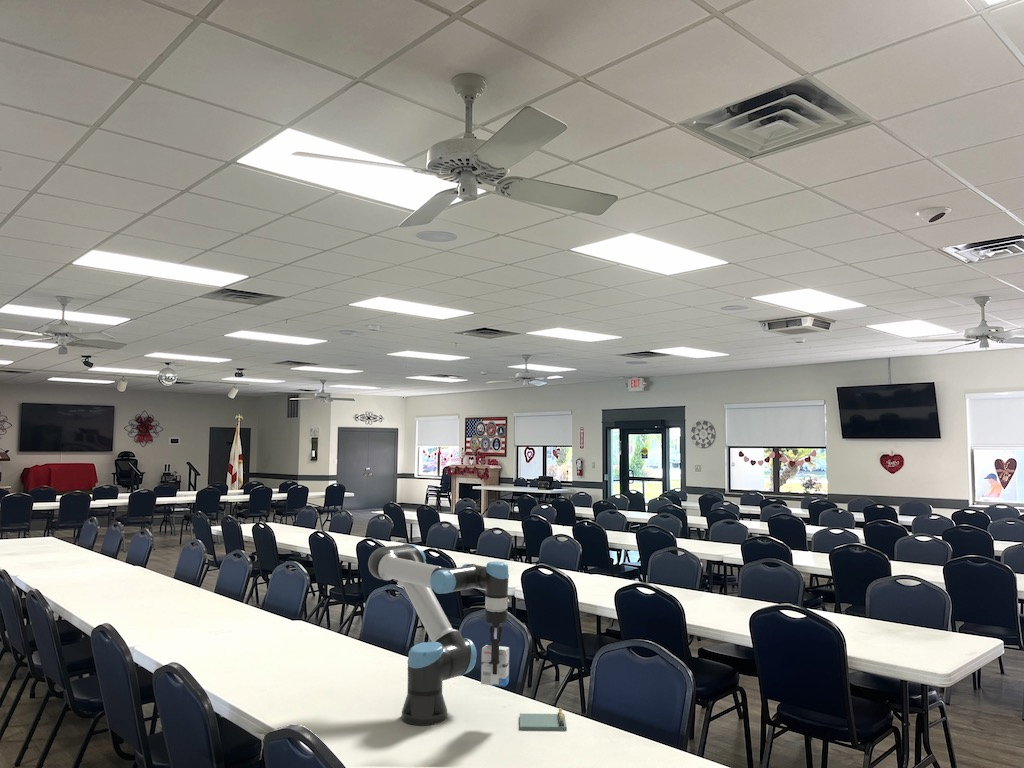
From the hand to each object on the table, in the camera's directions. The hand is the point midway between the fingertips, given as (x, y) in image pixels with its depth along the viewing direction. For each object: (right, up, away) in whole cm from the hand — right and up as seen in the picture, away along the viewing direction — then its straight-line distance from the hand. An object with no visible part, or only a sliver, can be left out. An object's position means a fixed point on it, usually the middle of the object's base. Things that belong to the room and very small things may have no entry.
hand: (494, 680), depth 240 cm
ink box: (0, -1, 0) cm, 1 cm away
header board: (+16, -13, -3) cm, 21 cm away
